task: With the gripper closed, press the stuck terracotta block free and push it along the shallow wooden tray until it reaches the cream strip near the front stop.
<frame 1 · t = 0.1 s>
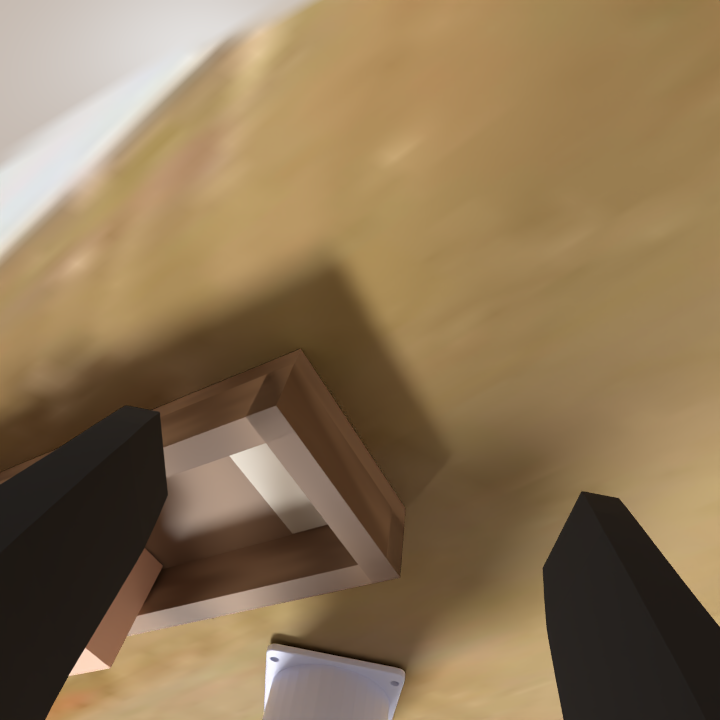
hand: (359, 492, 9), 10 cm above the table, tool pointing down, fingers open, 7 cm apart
jammed block: (55, 583, 24), point 4 cm above the table, slide at 0.0 cm
shallow wooden tray: (157, 501, 26), on the table
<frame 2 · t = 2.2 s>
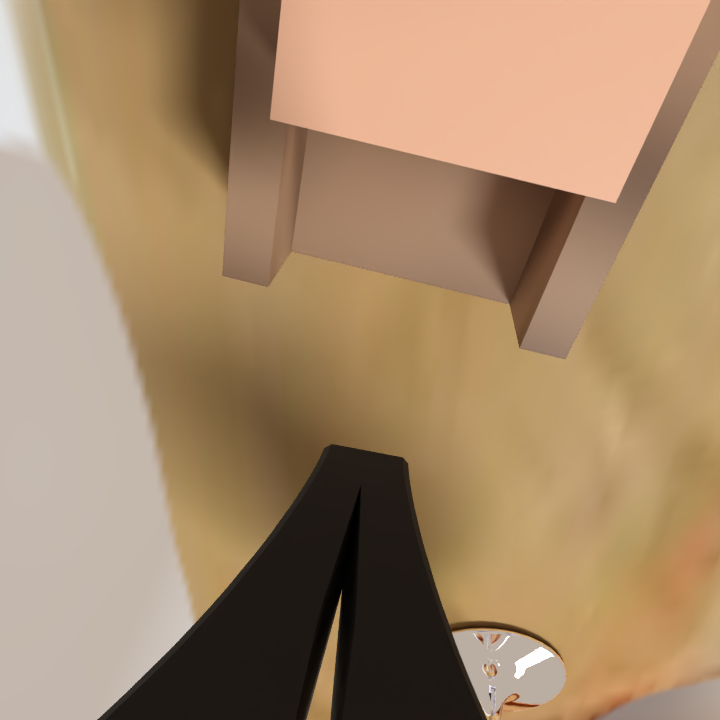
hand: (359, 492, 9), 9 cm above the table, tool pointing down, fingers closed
wineglass: (488, 664, 28), on the table
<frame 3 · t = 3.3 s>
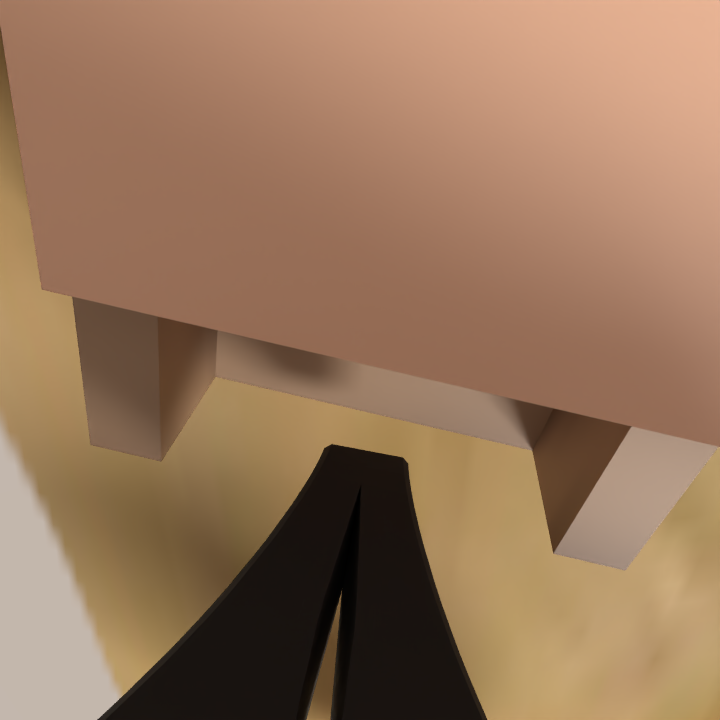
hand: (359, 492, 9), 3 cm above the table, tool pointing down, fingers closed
jammed block: (493, 4, 5), point 4 cm above the table, slide at 0.0 cm
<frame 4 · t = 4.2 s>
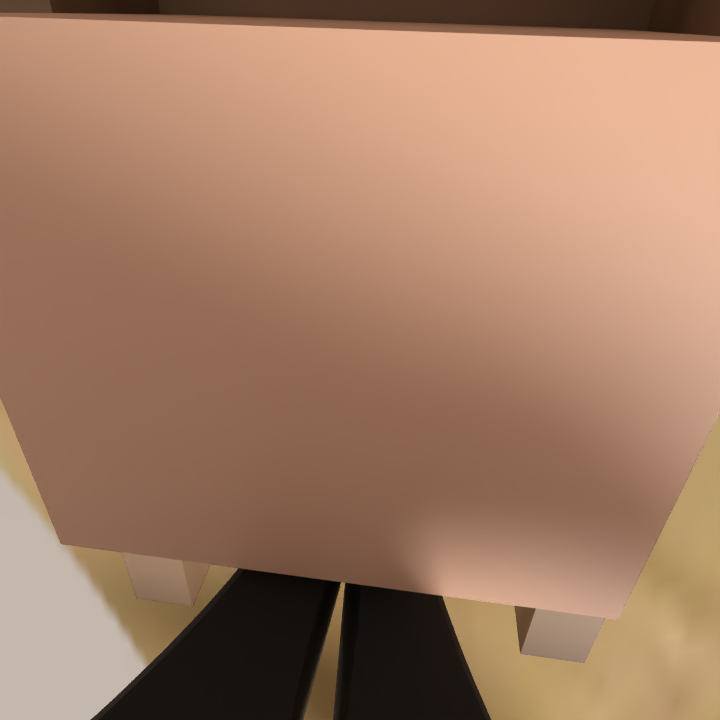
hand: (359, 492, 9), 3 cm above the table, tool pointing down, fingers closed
jammed block: (362, 268, 6), point 4 cm above the table, slide at 0.8 cm, touching gripper
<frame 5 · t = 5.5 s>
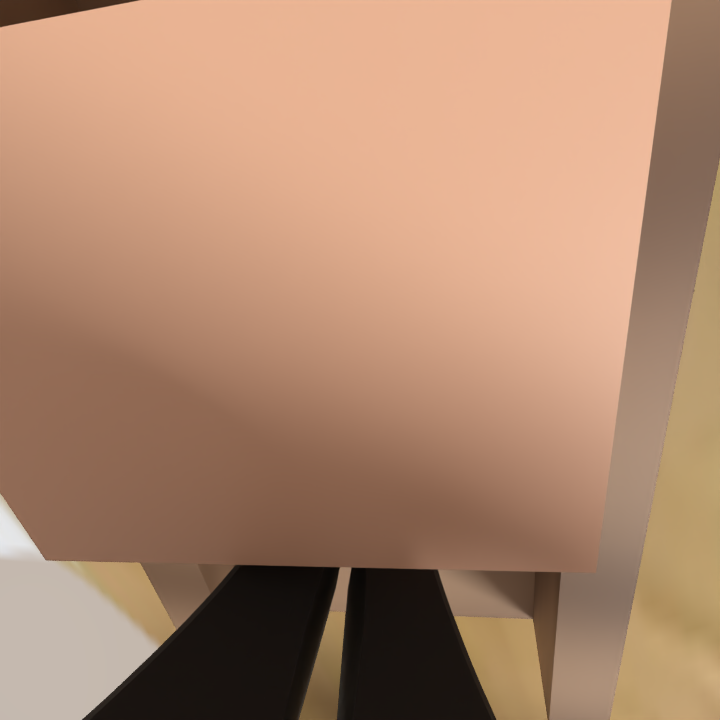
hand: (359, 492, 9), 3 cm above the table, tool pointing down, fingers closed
jammed block: (300, 254, 6), point 4 cm above the table, slide at 4.2 cm, touching gripper
shallow wooden tray: (347, 190, 10), on the table
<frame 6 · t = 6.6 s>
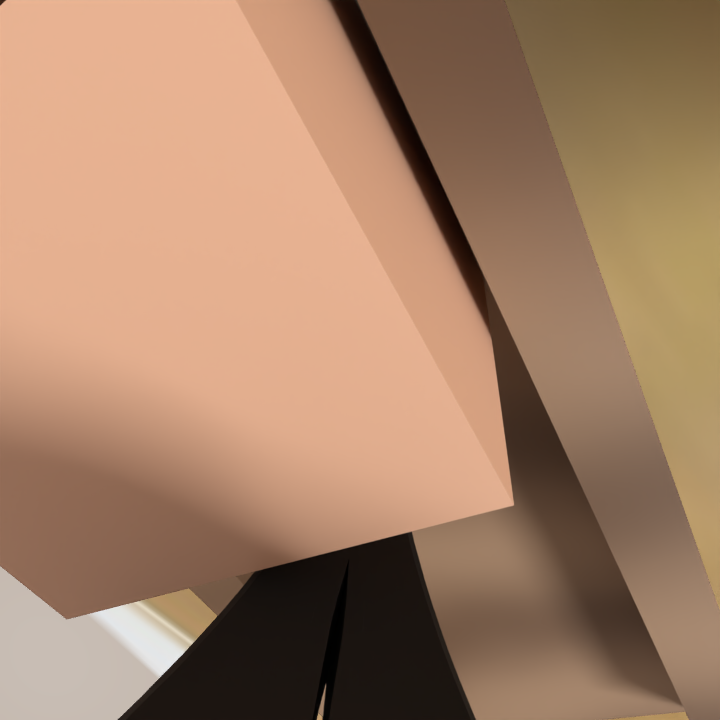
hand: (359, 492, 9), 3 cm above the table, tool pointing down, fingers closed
jammed block: (198, 287, 7), point 4 cm above the table, slide at 10.3 cm, touching gripper
shallow wooden tray: (421, 444, 13), on the table
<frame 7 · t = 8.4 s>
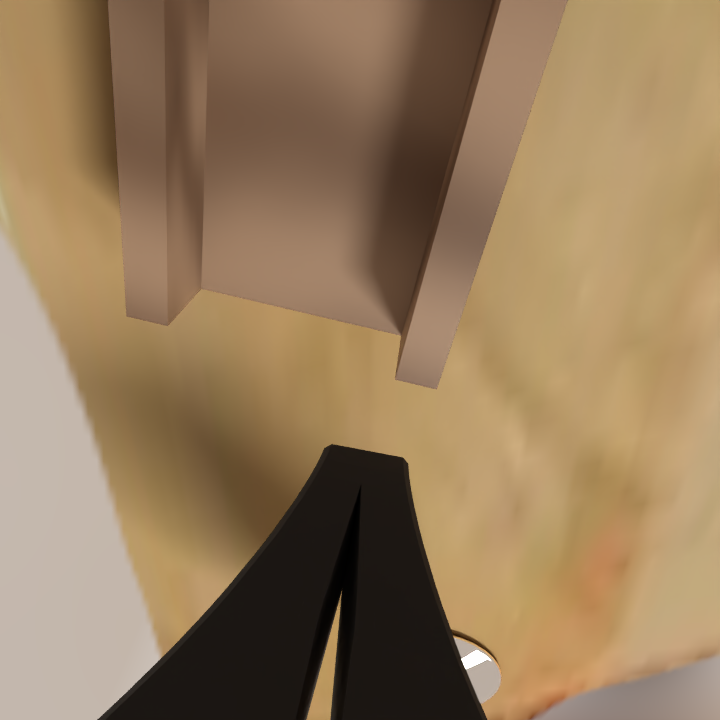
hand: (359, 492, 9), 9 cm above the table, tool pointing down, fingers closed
wineglass: (429, 665, 29), on the table
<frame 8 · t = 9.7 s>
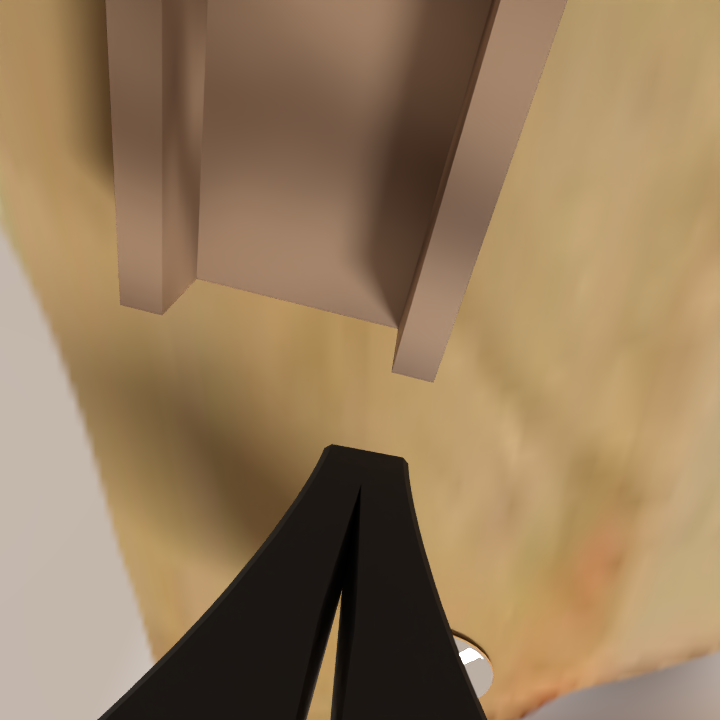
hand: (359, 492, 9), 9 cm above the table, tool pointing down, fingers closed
wineglass: (422, 662, 29), on the table
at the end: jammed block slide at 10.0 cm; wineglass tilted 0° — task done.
